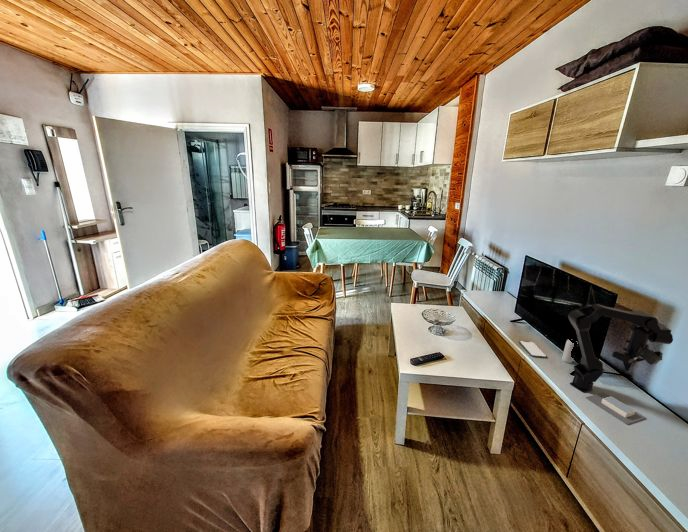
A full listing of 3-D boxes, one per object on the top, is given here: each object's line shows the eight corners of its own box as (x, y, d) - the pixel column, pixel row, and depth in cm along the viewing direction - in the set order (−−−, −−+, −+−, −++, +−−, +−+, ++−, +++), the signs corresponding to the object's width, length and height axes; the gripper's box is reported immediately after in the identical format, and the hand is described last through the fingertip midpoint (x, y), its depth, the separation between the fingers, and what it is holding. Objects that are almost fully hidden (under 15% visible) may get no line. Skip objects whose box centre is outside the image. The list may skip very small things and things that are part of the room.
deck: (610, 400, 133) (601, 402, 131) (611, 396, 133) (602, 398, 131) (634, 414, 125) (625, 417, 123) (635, 410, 124) (626, 413, 122)
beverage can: (559, 359, 164) (565, 340, 161) (564, 357, 166) (569, 338, 163) (569, 364, 160) (575, 344, 157) (573, 362, 163) (579, 342, 159)
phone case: (547, 359, 165) (532, 344, 180) (548, 357, 165) (533, 341, 180) (530, 358, 166) (517, 342, 181) (531, 355, 165) (518, 340, 180)
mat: (585, 398, 134) (585, 397, 134) (603, 393, 138) (603, 392, 138) (627, 424, 120) (627, 423, 120) (645, 418, 124) (646, 417, 124)
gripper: (647, 352, 121) (635, 385, 125) (674, 346, 127) (662, 378, 131) (616, 339, 131) (606, 369, 136) (642, 334, 137) (632, 363, 142)
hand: (627, 370), depth 136 cm, fingers closed
